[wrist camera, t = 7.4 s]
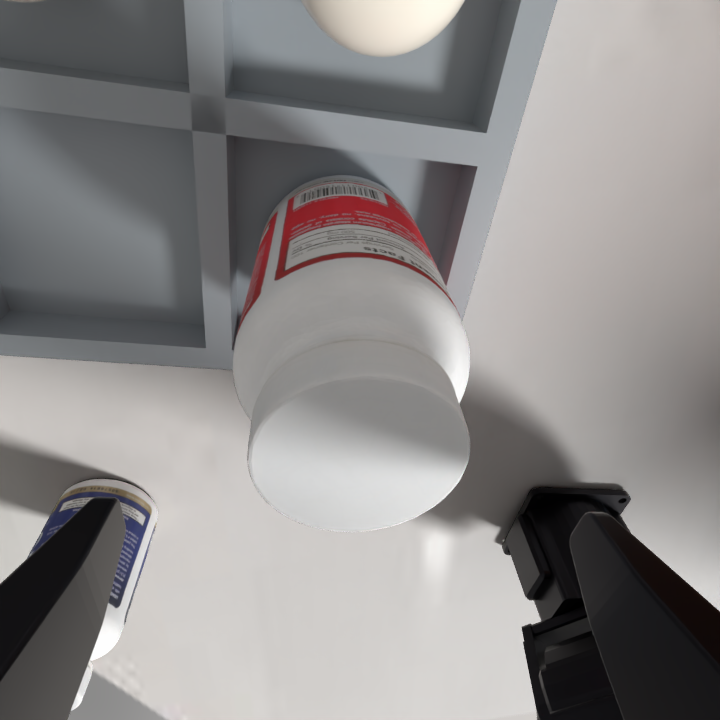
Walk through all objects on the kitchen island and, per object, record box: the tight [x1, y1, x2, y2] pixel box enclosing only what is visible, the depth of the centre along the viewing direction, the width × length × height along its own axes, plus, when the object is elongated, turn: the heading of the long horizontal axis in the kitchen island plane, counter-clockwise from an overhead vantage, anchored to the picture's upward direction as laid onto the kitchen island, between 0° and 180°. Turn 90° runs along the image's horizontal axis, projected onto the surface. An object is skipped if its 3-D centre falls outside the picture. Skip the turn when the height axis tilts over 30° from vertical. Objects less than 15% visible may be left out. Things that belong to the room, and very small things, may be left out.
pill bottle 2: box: [233, 175, 470, 532], centre depth 14 cm, size 6×6×11 cm
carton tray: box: [0, 0, 557, 370], centre depth 15 cm, size 19×19×2 cm
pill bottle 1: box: [27, 479, 158, 710], centre depth 24 cm, size 5×5×10 cm
